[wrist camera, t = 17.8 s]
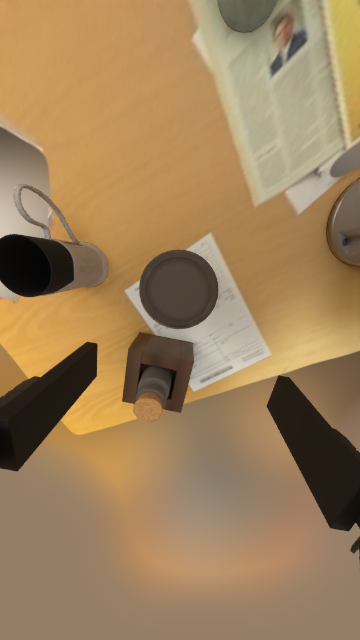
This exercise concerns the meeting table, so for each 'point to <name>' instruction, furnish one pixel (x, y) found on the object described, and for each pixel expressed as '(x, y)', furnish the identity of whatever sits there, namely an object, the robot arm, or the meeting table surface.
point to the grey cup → (245, 13)
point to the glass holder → (48, 259)
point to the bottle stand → (160, 355)
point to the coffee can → (178, 289)
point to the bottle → (152, 393)
